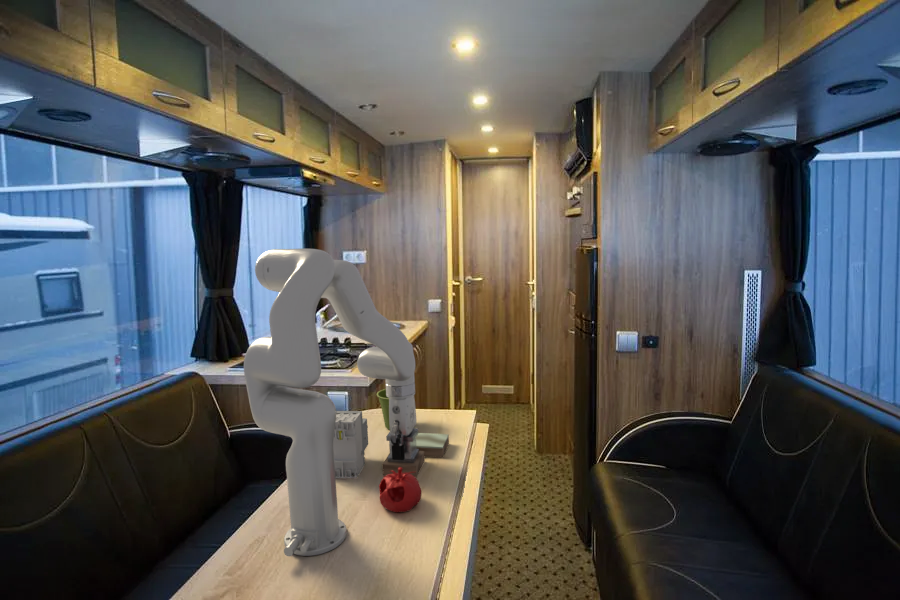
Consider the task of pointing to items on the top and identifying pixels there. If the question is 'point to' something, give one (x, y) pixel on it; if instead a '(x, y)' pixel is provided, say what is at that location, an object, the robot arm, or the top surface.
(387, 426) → the plant pot
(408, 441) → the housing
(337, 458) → the circuit breaker
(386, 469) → the stand
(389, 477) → the pomegranate
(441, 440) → the stand
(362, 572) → the top surface
